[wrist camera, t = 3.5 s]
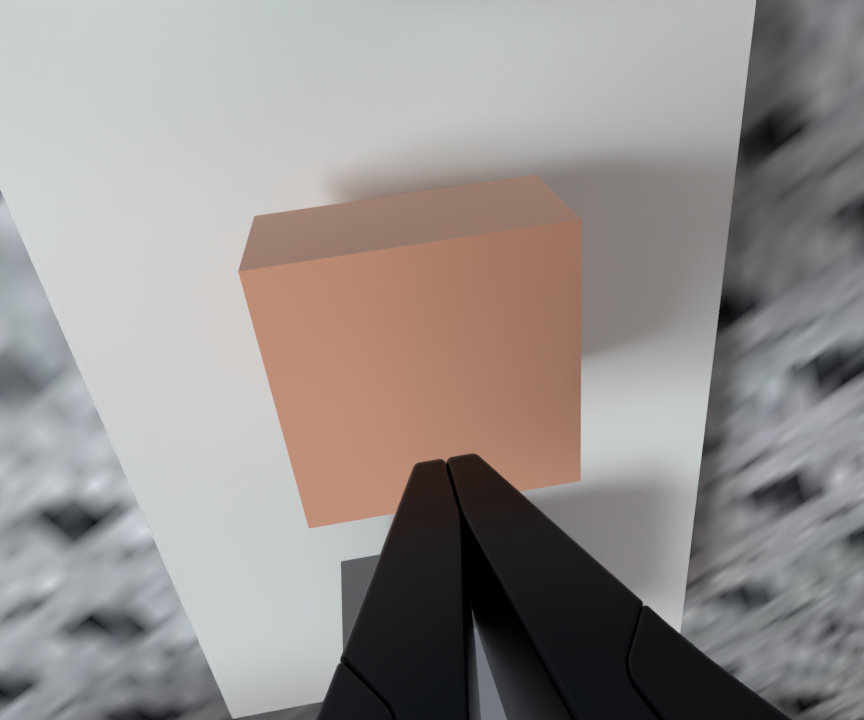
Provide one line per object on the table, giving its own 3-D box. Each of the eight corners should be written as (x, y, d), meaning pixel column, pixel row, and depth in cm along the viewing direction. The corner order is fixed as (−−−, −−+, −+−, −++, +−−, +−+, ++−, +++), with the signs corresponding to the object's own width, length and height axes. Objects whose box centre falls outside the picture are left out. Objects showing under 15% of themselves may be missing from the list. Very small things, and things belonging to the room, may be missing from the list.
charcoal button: (550, 655, 19) (579, 743, 17) (373, 689, 19) (378, 783, 17) (546, 524, 16) (580, 608, 14) (340, 561, 16) (343, 652, 14)
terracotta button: (543, 405, 15) (580, 481, 12) (311, 444, 14) (308, 528, 12) (536, 174, 12) (582, 219, 10) (254, 216, 12) (238, 271, 10)
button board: (660, 595, 23) (680, 633, 21) (238, 674, 22) (232, 718, 21) (778, -681, 9) (851, -783, 8) (-284, -604, 9) (-391, -704, 7)
